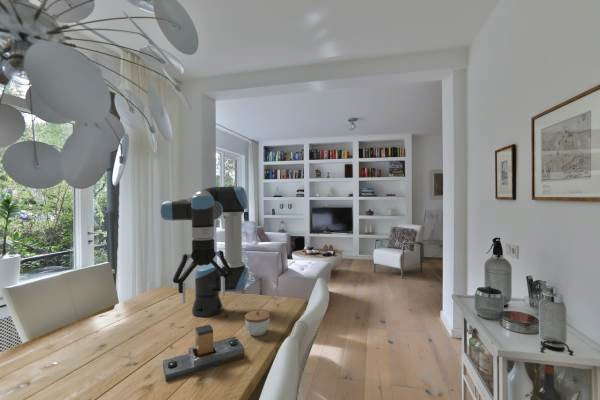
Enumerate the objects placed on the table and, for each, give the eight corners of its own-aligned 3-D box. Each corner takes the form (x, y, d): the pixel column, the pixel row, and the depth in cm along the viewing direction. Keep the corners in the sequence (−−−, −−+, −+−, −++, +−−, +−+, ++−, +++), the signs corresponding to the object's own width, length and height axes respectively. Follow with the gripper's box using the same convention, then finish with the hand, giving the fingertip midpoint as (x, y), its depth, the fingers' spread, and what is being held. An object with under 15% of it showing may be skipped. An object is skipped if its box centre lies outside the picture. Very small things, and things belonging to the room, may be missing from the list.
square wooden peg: (195, 361, 105) (195, 327, 105) (210, 357, 108) (209, 324, 108) (198, 367, 101) (198, 333, 101) (213, 363, 104) (213, 329, 104)
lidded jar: (265, 339, 121) (265, 316, 121) (241, 337, 123) (240, 315, 123) (273, 328, 132) (272, 307, 132) (250, 326, 134) (250, 306, 134)
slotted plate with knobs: (162, 366, 102) (162, 352, 102) (235, 346, 115) (235, 335, 115) (166, 381, 94) (165, 366, 94) (244, 358, 107) (244, 345, 107)
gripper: (165, 243, 95) (166, 308, 95) (240, 237, 108) (241, 295, 108) (163, 240, 102) (164, 301, 102) (234, 235, 114) (234, 289, 114)
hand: (203, 298), depth 105 cm, fingers open, 13 cm apart
